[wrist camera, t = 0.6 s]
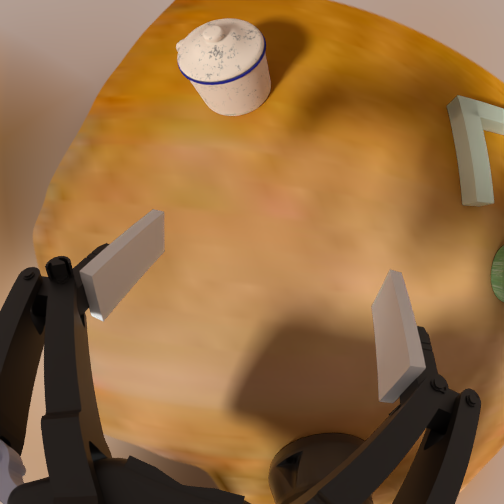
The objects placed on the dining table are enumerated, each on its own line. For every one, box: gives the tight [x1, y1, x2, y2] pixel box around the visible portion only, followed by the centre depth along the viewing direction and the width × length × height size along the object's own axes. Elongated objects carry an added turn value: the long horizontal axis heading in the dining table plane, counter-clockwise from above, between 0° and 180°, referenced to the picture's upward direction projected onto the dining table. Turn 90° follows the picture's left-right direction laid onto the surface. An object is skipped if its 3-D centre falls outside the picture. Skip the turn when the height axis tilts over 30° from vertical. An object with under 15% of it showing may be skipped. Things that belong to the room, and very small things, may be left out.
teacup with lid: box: [176, 19, 271, 116], centre depth 26 cm, size 12×9×12 cm
